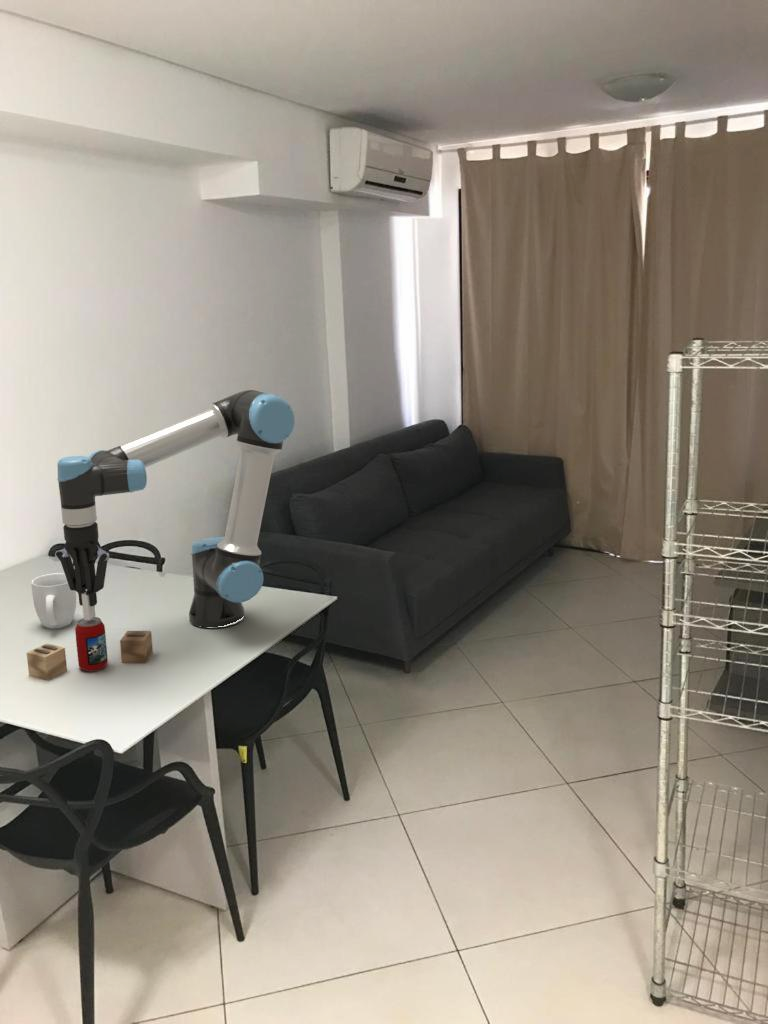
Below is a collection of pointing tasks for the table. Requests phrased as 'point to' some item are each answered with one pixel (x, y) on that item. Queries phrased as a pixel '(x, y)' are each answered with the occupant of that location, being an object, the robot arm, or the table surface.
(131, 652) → the wooden minus sign cube
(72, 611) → the mug
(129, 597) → the table surface
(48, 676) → the wooden equals sign cube
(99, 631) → the beverage can
